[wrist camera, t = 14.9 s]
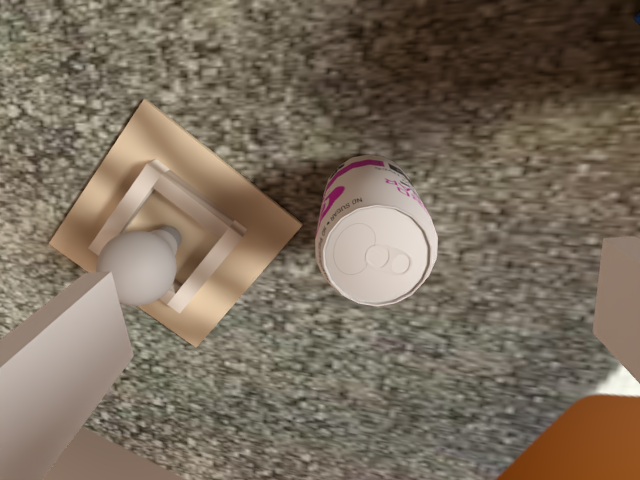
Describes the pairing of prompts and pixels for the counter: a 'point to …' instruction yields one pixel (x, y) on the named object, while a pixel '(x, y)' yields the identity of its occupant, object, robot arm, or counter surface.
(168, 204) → the socket base
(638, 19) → the blue cardboard box
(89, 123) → the counter surface
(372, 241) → the supplement can
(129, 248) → the lightbulb
